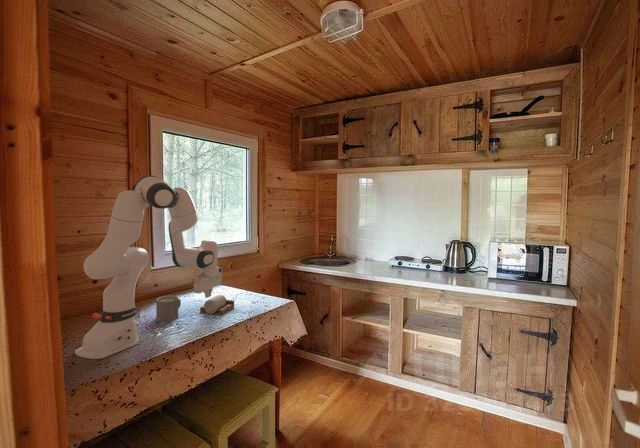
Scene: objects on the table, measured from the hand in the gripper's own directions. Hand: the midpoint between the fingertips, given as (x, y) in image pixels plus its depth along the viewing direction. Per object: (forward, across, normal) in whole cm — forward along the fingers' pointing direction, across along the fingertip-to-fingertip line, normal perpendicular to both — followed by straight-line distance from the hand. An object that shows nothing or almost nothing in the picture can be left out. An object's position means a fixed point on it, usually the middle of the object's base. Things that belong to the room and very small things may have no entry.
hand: (208, 297), depth 164 cm
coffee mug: (+10, -9, +15) cm, 20 cm away
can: (+6, 0, -1) cm, 6 cm away
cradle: (+9, +7, -1) cm, 12 cm away
